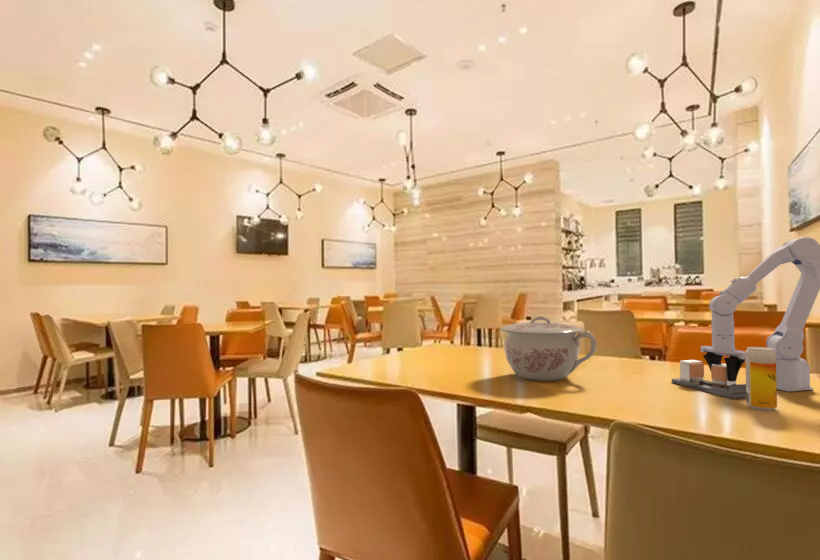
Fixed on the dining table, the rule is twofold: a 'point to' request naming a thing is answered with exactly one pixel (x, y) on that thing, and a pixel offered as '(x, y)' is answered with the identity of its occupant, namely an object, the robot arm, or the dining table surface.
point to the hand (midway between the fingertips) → (723, 379)
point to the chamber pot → (544, 349)
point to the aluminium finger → (720, 374)
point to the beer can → (761, 378)
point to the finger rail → (694, 379)
